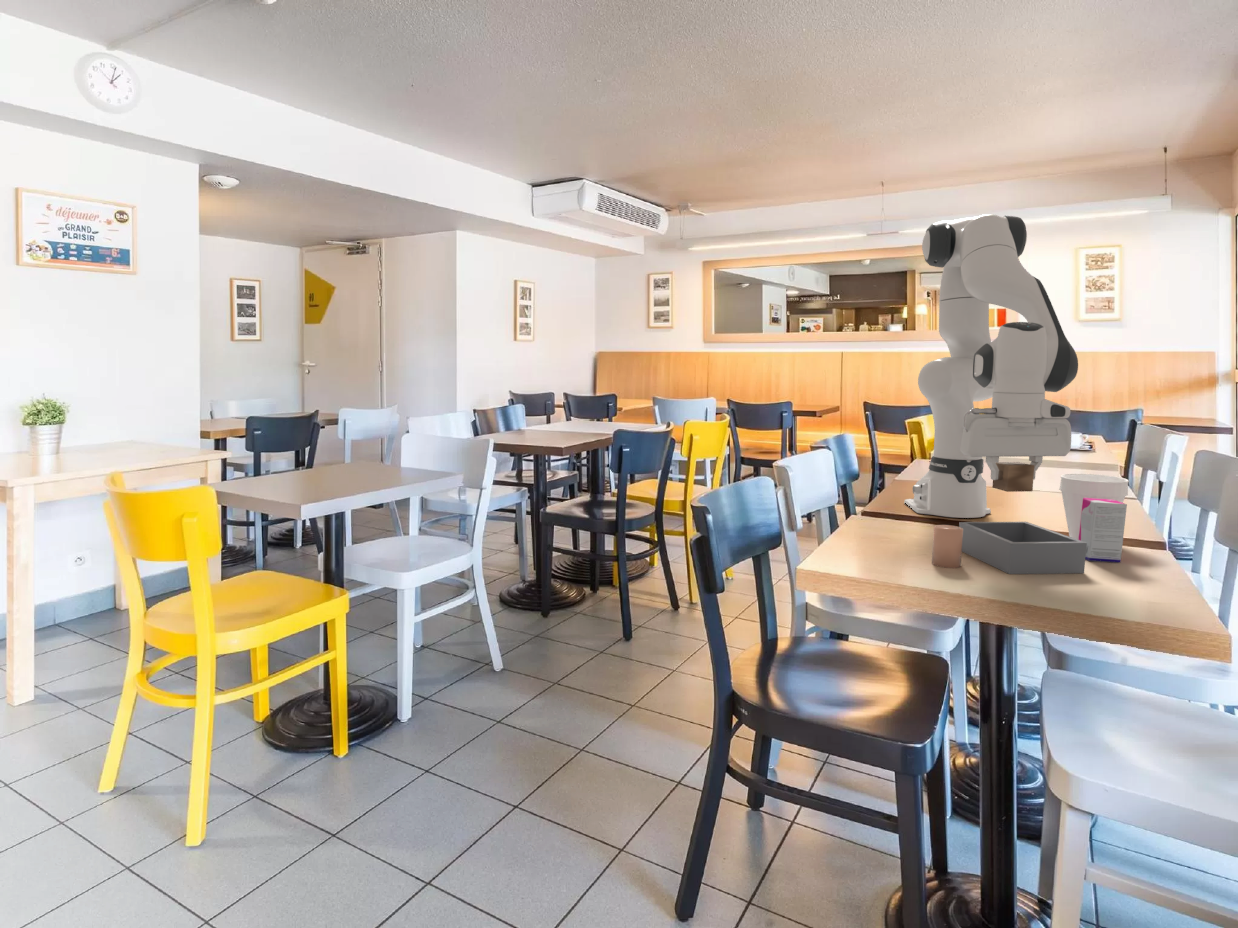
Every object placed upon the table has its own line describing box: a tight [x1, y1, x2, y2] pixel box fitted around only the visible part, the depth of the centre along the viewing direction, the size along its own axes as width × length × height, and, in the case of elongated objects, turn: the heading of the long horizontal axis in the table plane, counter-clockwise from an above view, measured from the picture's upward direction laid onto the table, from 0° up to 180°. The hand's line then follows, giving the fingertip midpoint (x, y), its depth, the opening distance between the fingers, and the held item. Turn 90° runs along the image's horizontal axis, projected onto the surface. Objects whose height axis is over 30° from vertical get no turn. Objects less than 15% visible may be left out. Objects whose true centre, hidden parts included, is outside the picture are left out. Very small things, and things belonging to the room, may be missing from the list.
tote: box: [958, 521, 1087, 575], centre depth 141 cm, size 18×14×6 cm
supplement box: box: [1078, 498, 1128, 563], centre depth 143 cm, size 6×6×12 cm
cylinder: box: [931, 524, 963, 569], centre depth 138 cm, size 5×5×7 cm
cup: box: [1058, 473, 1130, 540], centre depth 157 cm, size 12×12×14 cm
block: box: [992, 461, 1034, 493], centre depth 143 cm, size 5×5×5 cm
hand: (1012, 479), depth 143 cm, fingers closed on block, 5 cm apart
